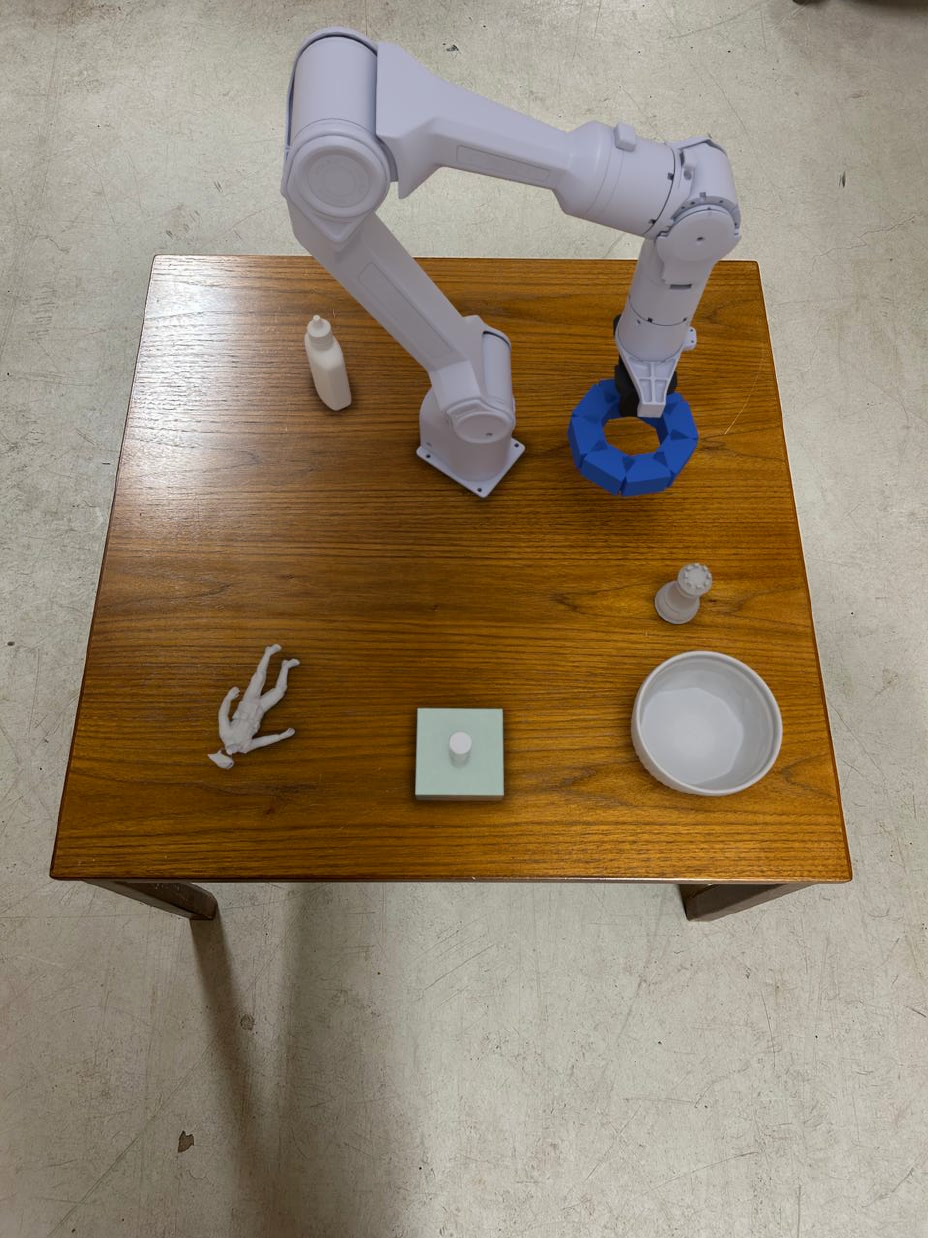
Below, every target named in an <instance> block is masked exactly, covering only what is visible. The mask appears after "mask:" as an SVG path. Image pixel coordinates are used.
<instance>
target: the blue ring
mask: <svg viewBox="0 0 928 1238" xmlns="http://www.w3.org/2000/svg"><path fill="white" fill-rule="evenodd" d="M619 397H620V395H619V393H618V392H617V391H616V387H615V379H614V378H608V379H607V378H606V379H600V380H599V382H598V384H597V383H593V385H592V386H591V388H590V389H589V390H588V391H587V392H586V394H585V395H584V396H583V398H582V399H581V400H580V401H579V403H577V404H576V406H575V408H574V409H573V410H572V412H571V414H570V420H569V424H568V428H567V433H566V435H567V439H568V443H569V447H570V451H571V455H572V459H573V463H574V467H575V470H576V471H577V470H580V471H579V475H580V476H581V477H583V478H585V479H587V480H588V481H590V482H592V483H593V484H594V485H597V486H598V487H600V488H601V489H603V490H604V491H607V492H608V493H610V494H611V495H613V496H615V497H617V496H618V494H619V493H620V496H621V498H627V497H634V496H641V495H647V494H656V493H661V492H662V493H663V492H665V490H666V489H670V488H671V487H672V484H674V482H675V481H676V479H677V478H678V476H679V475H680V474H681V472H682V471H683V469H684V468H685V467H686V466H687V464H688V463H689V461H690V460H691V459H692V456H693V454H694V453H695V450H696V448H697V447H698V444H699V442H698V440H699V439H700V435H699V432H698V429H697V426H696V422H695V420H694V415H693V413H692V410H691V407H690V403H689V401H688V400H684V398H685V397H684V396H683V395H682V394H681V393H678V392H676V390H675V391H674V393H673V394H671V395H667V396H666V405H665V407H664V410H663V412H662V415H661V417H635V418H636V419H638V420H640V421H642V422H643V423H645V424H647V425H648V426H650V427H652V428H653V429H655V432H656V436H657V439H658V443H659V446H658V448H657V449H656V450H655V452H654V451H653V452H647V453H641V454H634V455H628V454H626V453H625V452H624V451H622V450H620V449H618V448H616V447H615V446H613V445H611V444H610V443H608V442H607V439H606V435H605V432H604V428H605V426H606V425H607V424H608V422H609V421H610V420H617V419H625V417H621V416H620V413H619Z"/></svg>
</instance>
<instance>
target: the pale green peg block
mask: <svg viewBox="0 0 928 1238" xmlns="http://www.w3.org/2000/svg"><path fill="white" fill-rule="evenodd" d="M415 744H416V748H415V783H414V784H415V785H414V795H415V799H416V801H466V802H467V801H472V802H473V801H476V802H477V801H478V802H479V801H482V802H484V801H485V802H487V801H488V802H500V801H502V800H503V798H504V797H505V774H504V773H505V771H504V770H505V765H504V764H505V763H504V758H505V757H504V756H505V755H504V709H503V708H474V707H473V708H466V707H465V708H464V707H463V708H462V707H461V708H460V707H417V709H416V743H415Z"/></svg>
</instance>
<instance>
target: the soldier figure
mask: <svg viewBox="0 0 928 1238" xmlns="http://www.w3.org/2000/svg"><path fill="white" fill-rule="evenodd" d="M281 650H282V646H281V645H280V644H278V643H274V644H273V645H272V646H266V648H265V649H264V654H263V656H262V658H261V660H260V661H259V663H258V665H257V668H256V672H255V673H254V674H253V675H252V677H251V679H250V682H249V684H248V686H247V688H246V690H245V692H244V693H243V697H242V700H240V701H239V702H238V705H237V708H236V710H235V711H234V714H233V715H232V721H230V718H229V713H230V709H231V704H232V703H231V702H232V701H233V700H235V699H236V698H238V697H239V695H240V694H239V692H241V690H239V688H238V686H233V687H232V688H231V689H230V690H229V691H228V692H227V695H226V696H225V697H224V698H223V701H222V703H221V705H220V707H219V711H218V713H217V714H218V734H219V738H220V739H221V740H222V742H223V745H224V748H222V749H219V750H218V751H217V752H216V753H208V754H207V756H208V757H209V760H211V761H213V762H214V763H215V764H216V766H217V767H219V768H222V769H226V770H227V771H228V770H229V769H230V768H232V767H233V766H234V764H235V761H234V759H233V758H232V754H236V753H237V752H239V753H242V754H247V753H248V752H249V753H250V752H251V751H253V750H256V749H258V748H260V747H261V748H262V747H265V746H269V745H271V744H274V743H277V742H279V741H281V740H284V739H287V738H289V737H292V736H293V735H294V734H295V732H296V731H295V729H294V728H291V727H289V728H288V729H287V730H286V731H284V732H282V733H280V734H278V733H275V734H271V735H264V736H259V737H255V738H253V736H254V735H255V734H257V733H258V731H259V729H260V728H261V721H262V719H263V718H264V714H265V713H266V712H267V711H269V710H270V709H271V708H272V707H274V706H275V705H276V704H277V703H278V702H279V701H280V700H281V699H282V698H283V697H284V696H285V692H286V691H287V689H288V674H289V669H291V668H293V667H297V666H299V665H300V664H301V662H300V661H299V660H298V659H296V658H292V659H290V660H288V659H283V660H282V662H281V668H280V670H279V675H278V678H277V680H276V684H275V685H274V687H273V688H271V689H269V690H268V691H266V692H265V693H264V694H262V695H261V693H262V690H263V687H264V685H265V682H266V680H267V670H268V666H269V663H270V658H271V656H272V655H274V654H275V653H278V652H280V651H281ZM224 750H225V751H226V754H227V755H224V754H223V753H222V751H224ZM228 755H230V756H231V757H230V756H228Z"/></svg>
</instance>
